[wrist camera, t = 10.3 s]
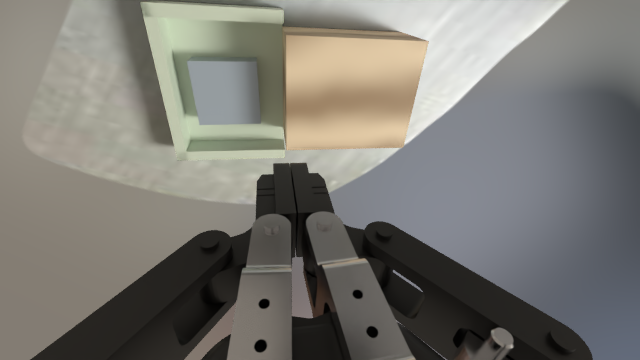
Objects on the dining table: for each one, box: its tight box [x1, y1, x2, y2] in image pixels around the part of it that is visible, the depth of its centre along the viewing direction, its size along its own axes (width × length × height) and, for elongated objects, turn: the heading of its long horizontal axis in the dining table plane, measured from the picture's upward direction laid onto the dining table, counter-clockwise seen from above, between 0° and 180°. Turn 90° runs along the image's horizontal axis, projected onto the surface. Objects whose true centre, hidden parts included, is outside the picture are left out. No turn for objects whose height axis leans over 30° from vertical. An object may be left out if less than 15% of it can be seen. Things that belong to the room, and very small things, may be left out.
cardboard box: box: [282, 26, 429, 150], centre depth 29 cm, size 10×12×6 cm
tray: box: [140, 0, 285, 161], centre depth 28 cm, size 14×11×3 cm
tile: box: [187, 57, 261, 125], centre depth 29 cm, size 6×6×2 cm
